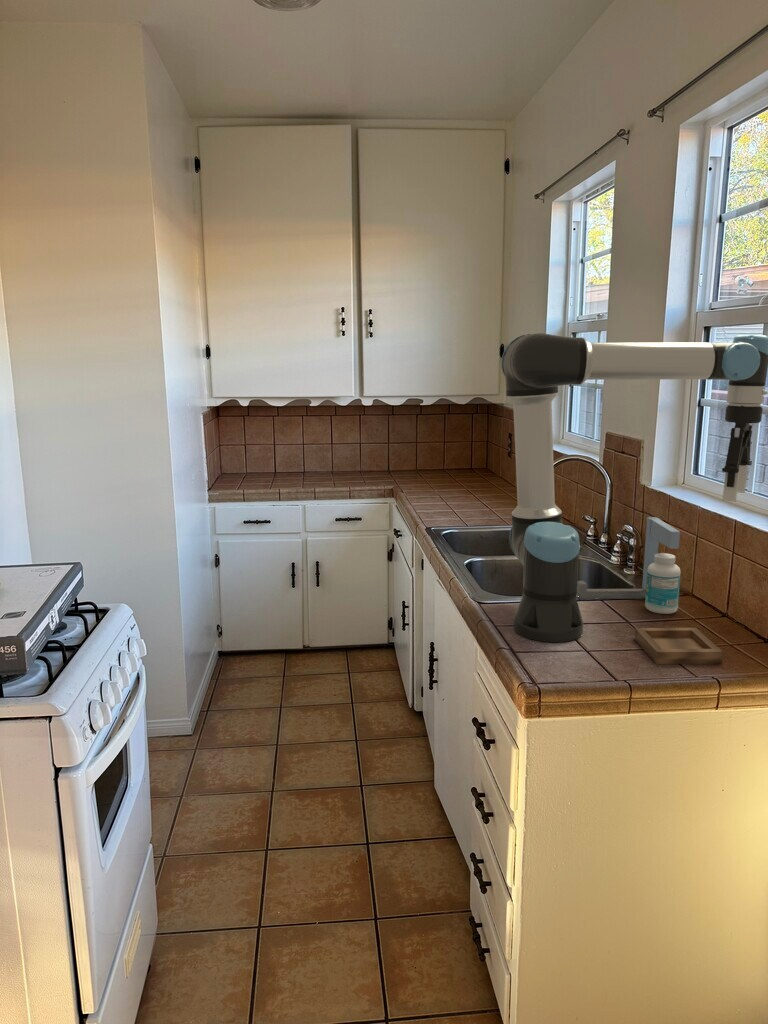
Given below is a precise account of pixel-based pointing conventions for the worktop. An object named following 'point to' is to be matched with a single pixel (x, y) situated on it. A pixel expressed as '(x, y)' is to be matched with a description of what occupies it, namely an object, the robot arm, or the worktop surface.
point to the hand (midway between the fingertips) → (733, 496)
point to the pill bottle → (663, 584)
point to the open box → (678, 646)
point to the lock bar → (657, 541)
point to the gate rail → (608, 593)
